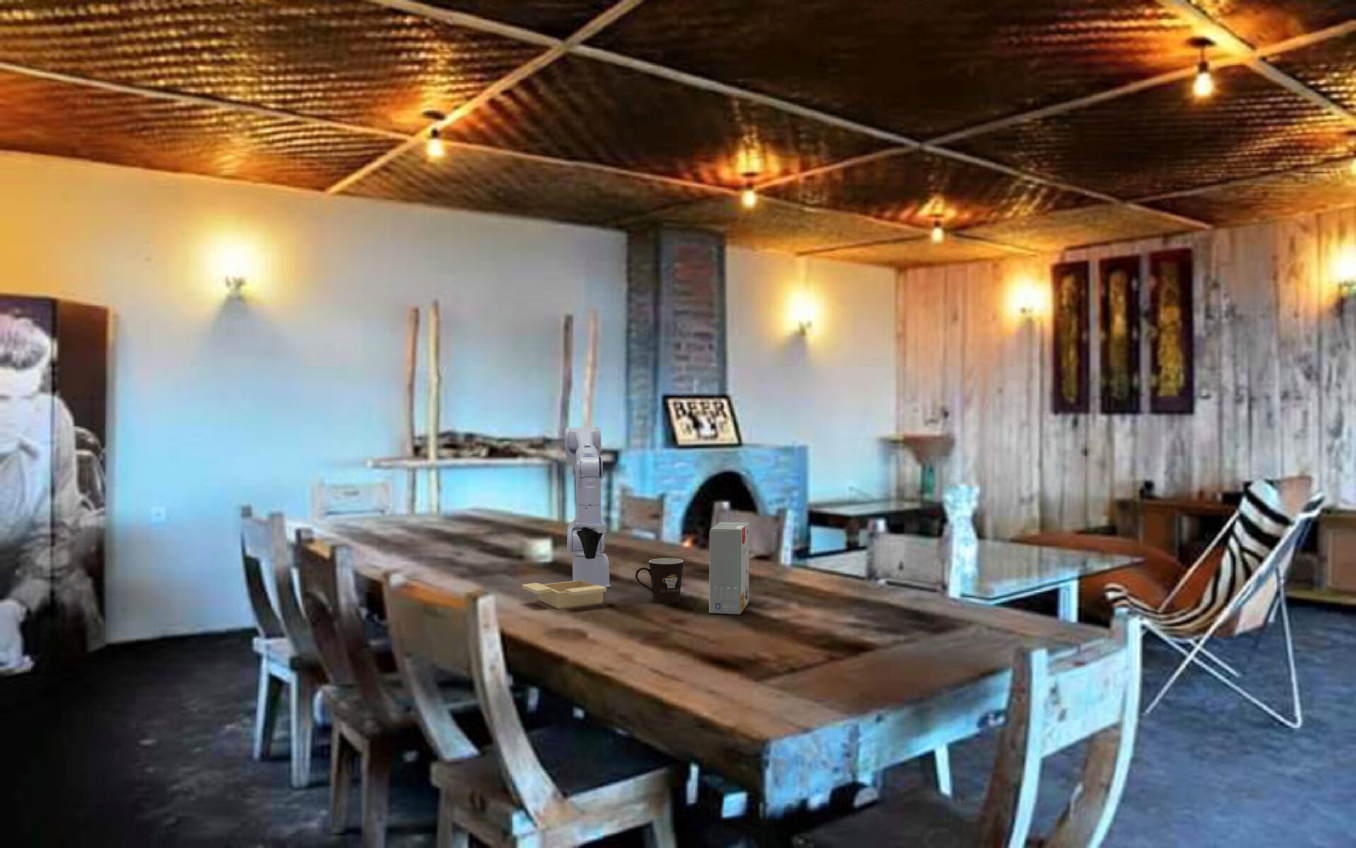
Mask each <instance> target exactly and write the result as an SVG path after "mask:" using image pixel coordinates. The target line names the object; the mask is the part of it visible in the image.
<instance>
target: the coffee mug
mask: <svg viewBox="0 0 1356 848" xmlns="http://www.w3.org/2000/svg"><path fill="white" fill-rule="evenodd" d="M648 564H649V568H648V567H643V566H642V567H640V568H638V569H637V570H636V571H635V575H634V576H635V579H636V581H637V583H639V584H640V585H641V586H642V587H644V588H645V589H647V590H649V591H651V593H652V597H653V602H654V603H656V604H665V605H667V604H676V603H679V602H680V598H681V597H680V596H681V590H682V588H681V587H682V580H683V579H682V578H683V569H684V560H683V559H681V558H674V557H672V558H671V557H663V558H662V557H661V558H660V557H659V558H654V559H649V561H648ZM641 571H646V572H647V573H648V575H650V580H651V587H649V586H648V585H646V584H645V583H643V582H641V580H640V579H639V577H638V576H639V573H640V572H641Z"/></svg>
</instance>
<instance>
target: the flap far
mask: <svg viewBox="0 0 1356 848" xmlns="http://www.w3.org/2000/svg"><path fill="white" fill-rule="evenodd" d="M542 584H543V583H539V582H532V583H531V582H530V583H524V584H521V588H522V589H524V590H525V591H528V592H531V593H533V594H536V595H539V594H540V593H547V592H552V589H551V588H549V587H547V586H544V585H542Z"/></svg>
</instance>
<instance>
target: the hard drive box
mask: <svg viewBox="0 0 1356 848" xmlns="http://www.w3.org/2000/svg"><path fill="white" fill-rule="evenodd" d="M749 532H750V523H749V522H743V521H742V522H740V521H739V522H736V521H735V522H733V521H720V522H718V523H717V524H716V525H714V526H713V527H711V528H710V529H709V578H708V580H709V581H708V583H709V593H708V595H709V596H708V598H709V599H708V607H709V609H708V612H709V614H727V615H741V614H742V612H744V609H745V608H746V607H747V605H748V604H749V601H750V561H749V559H750V557H749V556H750V549H749V547H750V543H749V542H750V535H749V534H750V533H749Z"/></svg>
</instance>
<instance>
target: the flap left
mask: <svg viewBox="0 0 1356 848" xmlns="http://www.w3.org/2000/svg"><path fill="white" fill-rule="evenodd" d="M607 589H608V587H606V588H605V587H603V586H600V585H596V586H588V587H579V588H571V589H566V593H568V594H570V595H581V594H589V593H597V592H603V593H604V592H607Z"/></svg>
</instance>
